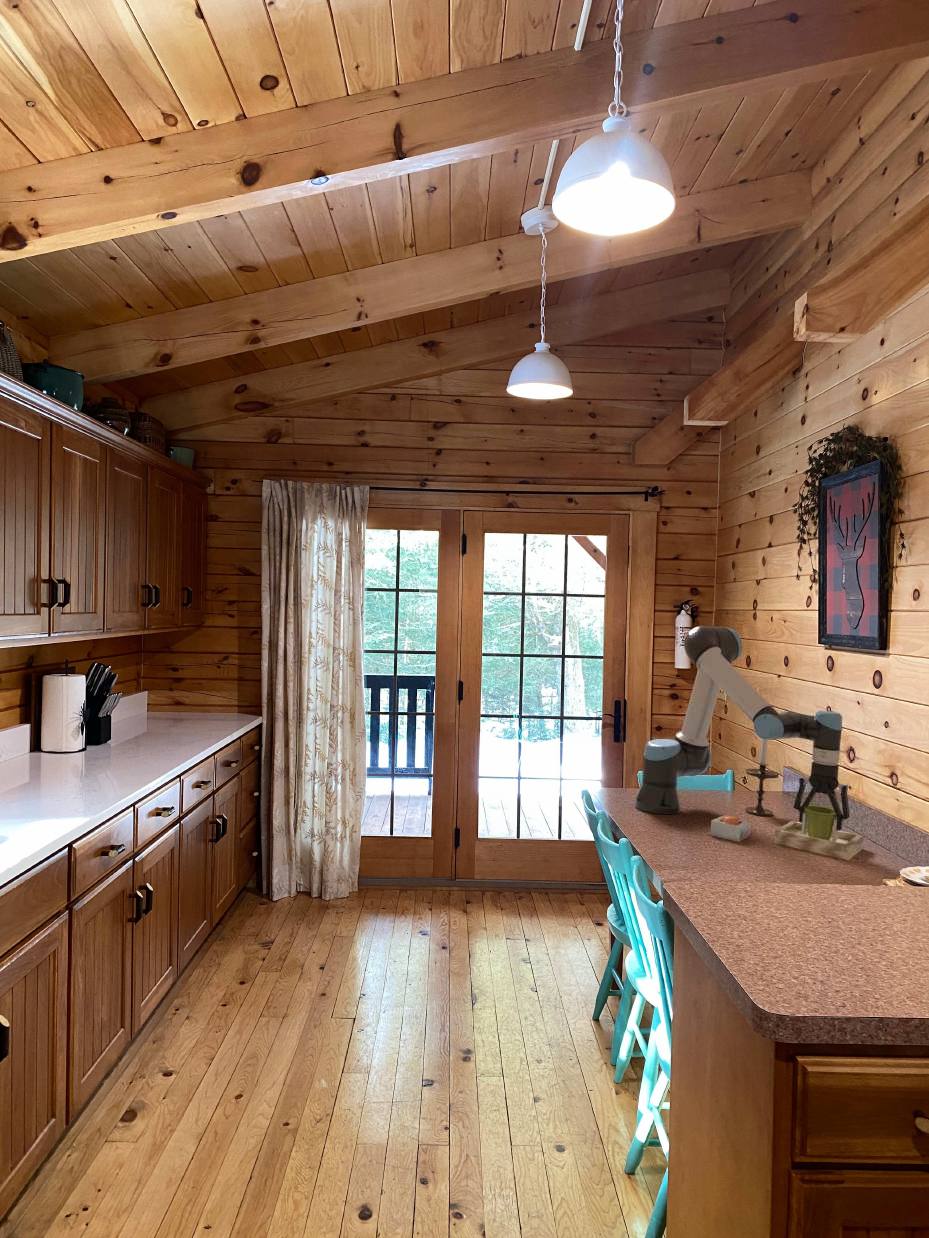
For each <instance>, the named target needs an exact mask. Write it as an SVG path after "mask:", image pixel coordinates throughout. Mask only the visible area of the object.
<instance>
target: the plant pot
mask: <svg viewBox="0 0 929 1238" xmlns="http://www.w3.org/2000/svg"><path fill="white" fill-rule="evenodd" d="M805 809H806V811H805V812H806V814H807V824H808V836H810V837H815V838H820V839H824V840H827V839H828V840H830V837H831V832H832V829H833V826H834V819H836V818H837V817H836V813H835V812H834V809H833V808H831V807H827V806H819V805H809V806H808V807H807V808H806V807H805Z"/></svg>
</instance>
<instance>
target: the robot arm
mask: <svg viewBox="0 0 929 1238" xmlns="http://www.w3.org/2000/svg"><path fill="white" fill-rule="evenodd" d="M683 640H684V641H683V646H684V647H683V650H684V652H685V655H686V656H687V658H688V659H689V660H690V661H691V663H692V664H693V665H694V666H695V667H696V668H697V672H696V676H695V678H694V679H695V680H694V683H693V687H692V691H691V694H690V697H689V703H688V705H687V709H686V712H685V717H684V720H683V725H682V728H681V730H680V731H678V732H677V733H676V734H675V737H674V739H669V738H662V739H661V738H656V739H652V740H648V742H646V743H645V746H644V752H643V763H642V764H643V767H642V780H641V781H642V782H641V786H640V788H639V791H638V794H637V795H636V798H635V804H634V806H635V808H636V809H638V810H640V811H644V812H647V813H651V814H656V815H657V814H659V815H678V814H680V813H681V809H682V808H681V800H680V797H679V793H678V778H682V777H695V776H697V775H701V774H704V773H705V772H706V771H707V770H708V769H709V767H710V766H711V763H712V753H711V749H710V748H709V745H710V742H709V740H708V738H707V736H708V733H709V729H710V725H711V722H712V718H713V715H714V711H715V707H716V703H717V700H718V698H719V697H718V696H719V693H720V690H721V691H723V692H724V693H725V694H726V695H727V696H728V697H729V698H730V700H731V701H732V702H733V703H734V704H735V705H736V706H737V707H738V708H739V709H740V711H742V712H743V714H745V715H746V716H747V718H748V719H749V720H750V721H751V722H752V723H753V730H754V732H755V733H754V734H756V735H757V737H758V738H760V739H761V740H762V739H768V741H769V740H770V741H775V740H780V739H782V740H784V739H794V738H795V739H803V740H808V741H813V744H812V757H811V759H812V760H813V761H812V762H811V768H810V776H809V777H804V776H801V777H800V778H799V780H798V781H799V782H798V783H799V787H798V791H797V794H796V797H795V800H794V804H793V809H794V810H797V811H798V812H799V819H798V822H801V823H802V832H801V834H803V835H804V834H806V832H807V824H808V823H807V814H806V809H805V807H806V808H807V807H808V806H810V804H811V802H812V801H813V799H814V797H815V796H816V795H817V794H823V795H827V797H828V798H829V800H830V803H831V806H832V809H834V812H835V813H836V818H835V819H834V824H833V828H832V829H833V838H832V841H834V842H835V841H837V837H838V830H839V831H842V829H843V820H848V819H849V818H850V817H851V816H850V808H849V807H850V806H849V799H848V797H849V796H848V790H849V788H850V787H849V784H843V783H840V782H839V767H840V766H839V765H838V764H839V763H840V756H841V754H840V753H841V741H842V740H841V739H842V732H843V731H842V730H843V716H842V714H841V713H840V712H837V711H836V712H835V711H828V710H817V711H816V712H815V715H809V714H804V713H798V712H795V711H781V712H780V713H779V712H778V711H777V710H776V709H775V708H774V707H773V706H772V705H771V704H770V703H769V701H767V700H766V699H765V697H763V696H762V695H761V693H759V691H758V690H757V689H755V687H754V686H753V685H752V684H751V683H750V682H749V681H748V680H747V679H746V678H745V677H744V676H743V674H741V673H740V672H739V671H738V670H737V668H735V667H734V665H732V663H733V662H734V661H736V660H737V659H739V658H740V656H742V655H741V654H742V652H743V641H742V639H741V637H740V634H739V633H738V632H737V631H736V630H734V629H732V628H730V627H725V626H706V625H699V626H695V627H694V628H692V629H690V630H689V631H688V632H687V634H686V636H685V638H684V639H683ZM808 784H810V785H811V790H810V791H809V793H808V795H807V797H806V798H805V800H804V801H803V804H802V800H803V798H804V793H805V792H806V786H807V785H808ZM837 788H838V789H839V792H840V799H841V806H842V810H841V807H840V805H839V802H838V799H837V795H836V793H835V790H836V789H837Z"/></svg>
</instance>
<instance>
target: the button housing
mask: <svg viewBox="0 0 929 1238" xmlns="http://www.w3.org/2000/svg"><path fill="white" fill-rule="evenodd" d="M723 816H724V815H722V816H719V817H717V818H715V819H712V820H711V822H710V832H709V833H710V834H709V835H710V836H712V837H717V838H721V839H725V840H728V841H729V840H730V841H734V842H737V843H740V842H741V841H744V840H746V839H748V838H749V837H750V834H751V833H750V832H751V821H749V820H748V821H747V820H743V819H740V822H739V825H734V824H730V823H725V822H722V820H723Z"/></svg>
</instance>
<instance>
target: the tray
mask: <svg viewBox="0 0 929 1238" xmlns="http://www.w3.org/2000/svg"><path fill="white" fill-rule="evenodd" d="M801 832H802V823H801V822H799V821H797V820H796V821H795V820H791V821H790V822H788V823H786V824H783V825H782V826H781V827H778V828H777V829H775V834H774V844H777V845H782V846H786V847H790V848H793V849H794V848H795V849H799V850H803V851H807V852H811V853H815V854H819V855H824V856H828V857H834V858H838V859H843V860H845V861H849V860H852V858H854V856H856V855H857V854H858V853H859V852H861V851H863V849H864V835H863V834H862V835H861V834H858V833H857V834H856V833H852V832H848V831H842V830H840V831H839V830H838V837H837V841H835V842H834V841H832V838H833V828H832V832H831V837H830V840H828V839H827V840H824V839H820V838H815V837H810V836H808V823H807V832H806V834H804V835H803V834H801Z"/></svg>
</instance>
